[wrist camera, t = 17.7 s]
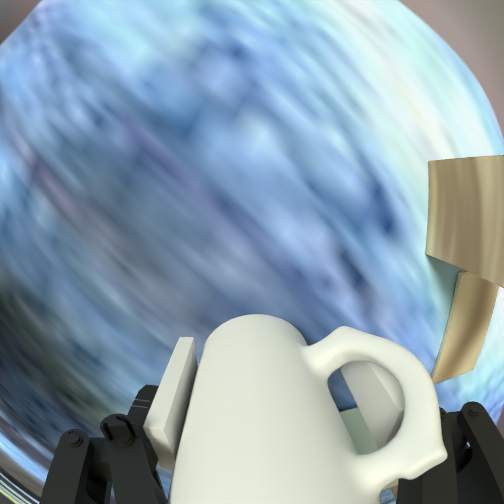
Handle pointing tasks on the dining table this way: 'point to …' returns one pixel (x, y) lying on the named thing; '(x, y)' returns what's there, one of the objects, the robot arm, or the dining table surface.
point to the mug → (295, 420)
